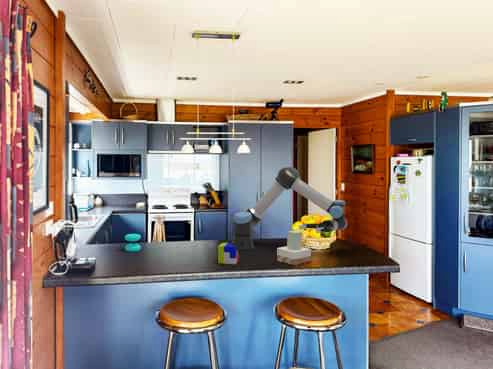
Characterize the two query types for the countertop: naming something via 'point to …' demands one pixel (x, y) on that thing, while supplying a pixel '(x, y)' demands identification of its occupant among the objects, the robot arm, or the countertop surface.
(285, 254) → the tower top
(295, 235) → the sage block
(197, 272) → the countertop surface
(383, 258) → the countertop surface
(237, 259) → the puzzle toy
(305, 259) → the tower base
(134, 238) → the teal spool
